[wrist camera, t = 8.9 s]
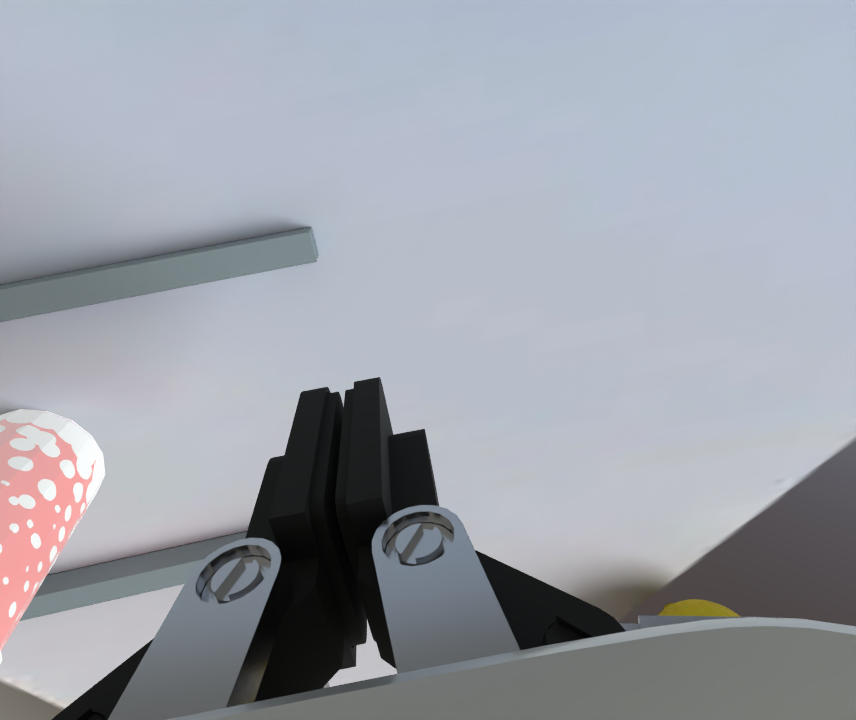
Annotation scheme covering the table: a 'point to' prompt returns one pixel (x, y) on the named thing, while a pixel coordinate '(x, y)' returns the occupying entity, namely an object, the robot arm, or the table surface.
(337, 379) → the table surface
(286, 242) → the slate channel
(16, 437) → the beverage cup
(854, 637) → the robot arm
